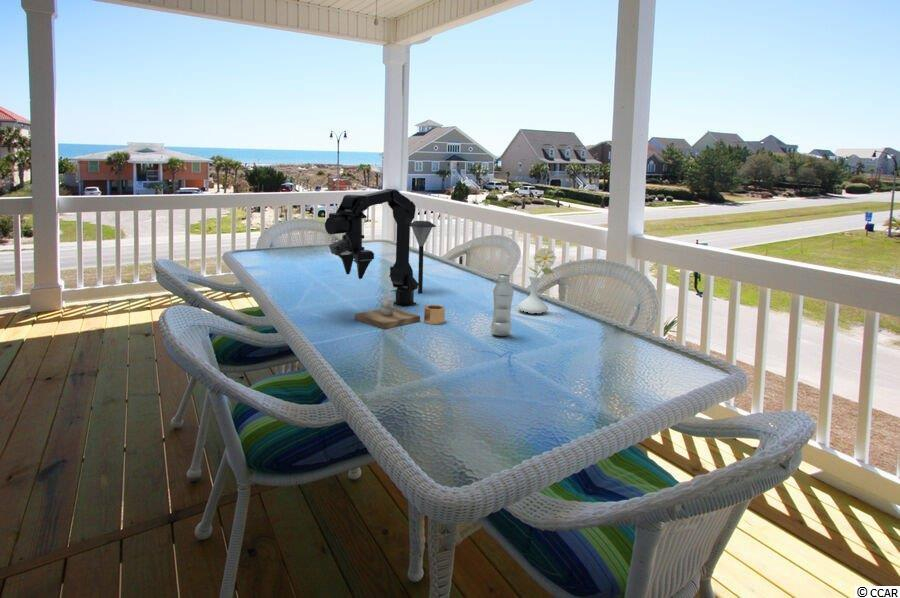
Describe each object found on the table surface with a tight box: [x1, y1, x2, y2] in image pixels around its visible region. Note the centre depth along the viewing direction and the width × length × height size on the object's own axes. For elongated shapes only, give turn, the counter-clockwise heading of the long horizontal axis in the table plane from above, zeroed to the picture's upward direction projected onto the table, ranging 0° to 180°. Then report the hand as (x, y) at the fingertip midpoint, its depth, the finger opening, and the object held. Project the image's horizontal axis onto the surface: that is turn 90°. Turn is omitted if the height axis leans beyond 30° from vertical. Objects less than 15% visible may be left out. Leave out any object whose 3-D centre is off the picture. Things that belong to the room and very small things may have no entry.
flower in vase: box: [517, 246, 557, 314], centre depth 225 cm, size 13×11×25 cm
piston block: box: [354, 297, 421, 330], centre depth 209 cm, size 16×16×8 cm
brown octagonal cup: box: [423, 304, 446, 325], centre depth 210 cm, size 7×7×5 cm
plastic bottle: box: [490, 273, 515, 337], centre depth 194 cm, size 6×7×20 cm
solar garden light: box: [410, 220, 437, 294], centre depth 251 cm, size 12×12×30 cm
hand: (354, 276), depth 211 cm, fingers open, 9 cm apart
